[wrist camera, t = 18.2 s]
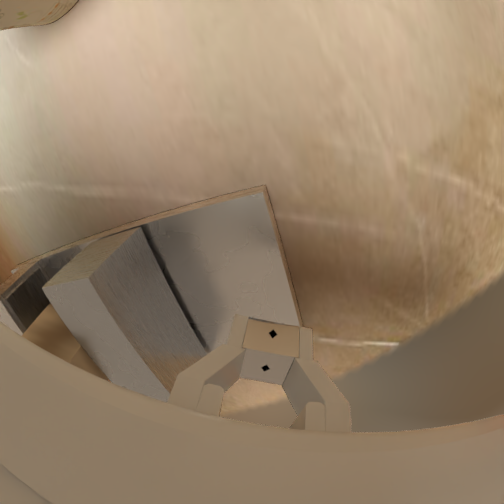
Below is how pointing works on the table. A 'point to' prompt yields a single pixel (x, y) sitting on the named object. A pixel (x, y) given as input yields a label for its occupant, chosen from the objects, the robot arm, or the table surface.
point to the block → (60, 341)
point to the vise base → (188, 266)
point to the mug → (32, 12)
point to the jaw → (125, 314)
